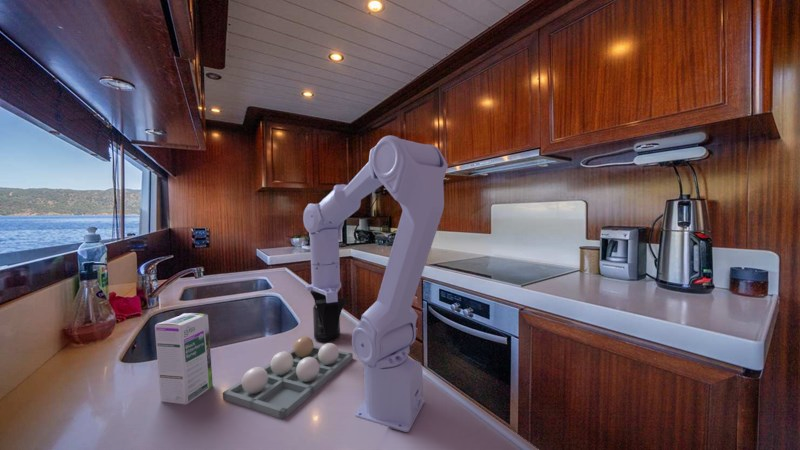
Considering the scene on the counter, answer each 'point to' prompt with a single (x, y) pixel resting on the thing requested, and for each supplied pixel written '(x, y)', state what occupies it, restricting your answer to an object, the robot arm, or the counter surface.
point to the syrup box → (183, 357)
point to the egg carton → (287, 380)
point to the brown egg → (303, 346)
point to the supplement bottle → (319, 330)
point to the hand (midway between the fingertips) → (327, 327)
